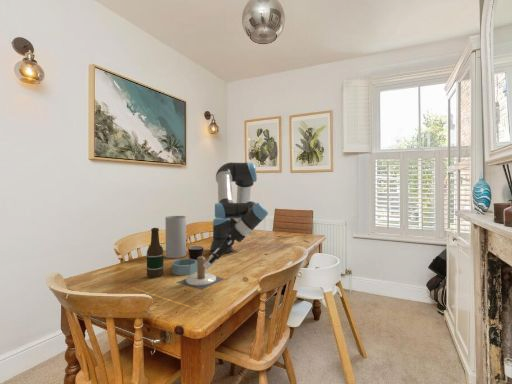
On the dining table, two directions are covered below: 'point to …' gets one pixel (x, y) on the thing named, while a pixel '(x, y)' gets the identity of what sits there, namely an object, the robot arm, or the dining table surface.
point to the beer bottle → (155, 256)
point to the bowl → (184, 267)
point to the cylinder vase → (175, 236)
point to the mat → (200, 286)
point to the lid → (200, 275)
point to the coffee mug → (195, 252)
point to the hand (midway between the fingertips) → (208, 263)
